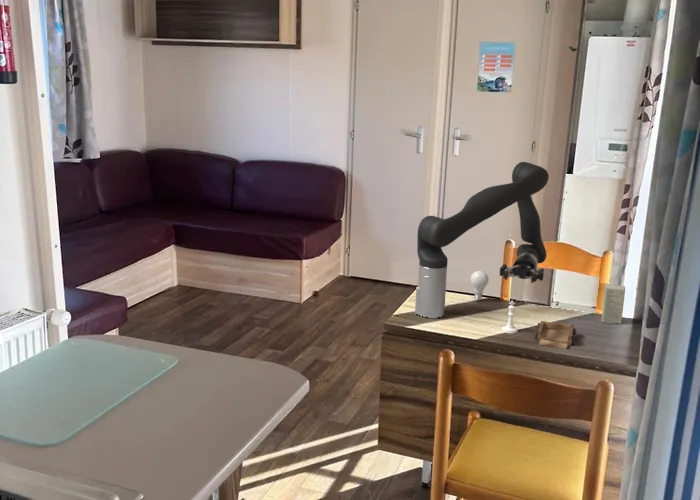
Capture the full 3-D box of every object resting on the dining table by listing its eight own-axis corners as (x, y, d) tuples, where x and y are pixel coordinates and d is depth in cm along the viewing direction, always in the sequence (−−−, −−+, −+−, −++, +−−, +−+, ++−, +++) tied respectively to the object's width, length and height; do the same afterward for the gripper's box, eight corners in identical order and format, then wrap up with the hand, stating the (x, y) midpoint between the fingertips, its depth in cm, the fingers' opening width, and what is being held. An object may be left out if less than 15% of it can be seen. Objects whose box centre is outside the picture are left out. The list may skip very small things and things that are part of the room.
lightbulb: (488, 303, 242) (490, 273, 239) (470, 303, 242) (472, 273, 239) (485, 297, 248) (487, 268, 245) (467, 297, 248) (469, 268, 245)
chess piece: (519, 333, 215) (521, 303, 212) (503, 333, 215) (506, 303, 212) (515, 327, 219) (518, 298, 217) (500, 327, 219) (502, 298, 217)
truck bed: (533, 343, 207) (533, 334, 206) (537, 329, 219) (538, 320, 218) (572, 349, 203) (573, 340, 202) (575, 334, 215) (576, 325, 214)
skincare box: (620, 320, 229) (625, 285, 225) (621, 324, 225) (626, 289, 221) (600, 317, 231) (605, 283, 227) (601, 322, 226) (605, 287, 223)
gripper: (505, 252, 240) (497, 265, 225) (547, 257, 235) (542, 270, 220) (504, 273, 242) (496, 286, 227) (545, 278, 237) (540, 292, 222)
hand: (519, 278), depth 224 cm, fingers open, 8 cm apart
